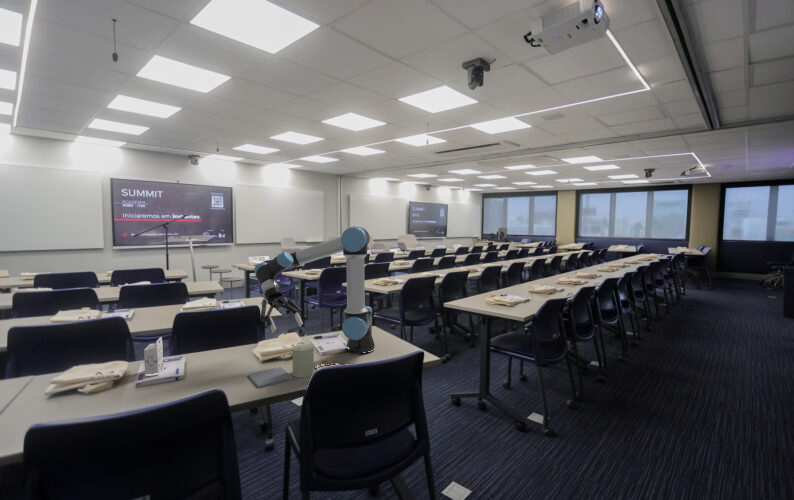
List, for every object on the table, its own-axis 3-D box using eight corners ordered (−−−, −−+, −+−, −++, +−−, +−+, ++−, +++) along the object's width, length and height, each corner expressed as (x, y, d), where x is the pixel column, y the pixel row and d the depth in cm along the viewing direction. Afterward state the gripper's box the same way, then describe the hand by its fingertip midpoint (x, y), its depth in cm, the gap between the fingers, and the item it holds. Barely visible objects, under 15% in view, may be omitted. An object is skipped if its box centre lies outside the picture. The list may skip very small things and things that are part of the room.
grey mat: (280, 368, 156) (280, 366, 156) (292, 378, 145) (292, 377, 145) (247, 376, 147) (247, 374, 147) (258, 387, 136) (258, 385, 136)
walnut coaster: (330, 359, 168) (330, 358, 168) (342, 366, 159) (342, 365, 159) (309, 364, 161) (309, 363, 161) (320, 372, 153) (320, 370, 152)
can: (287, 374, 149) (287, 347, 149) (302, 367, 157) (302, 341, 157) (303, 379, 145) (303, 351, 144) (318, 371, 153) (318, 345, 152)
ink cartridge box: (150, 369, 151) (149, 336, 151) (163, 368, 153) (162, 335, 152) (143, 377, 144) (143, 342, 143) (158, 376, 145) (157, 341, 145)
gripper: (291, 292, 177) (308, 327, 168) (243, 298, 159) (259, 338, 150) (297, 283, 174) (314, 318, 165) (249, 288, 155) (265, 328, 146)
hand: (288, 328), depth 157 cm, fingers open, 13 cm apart
